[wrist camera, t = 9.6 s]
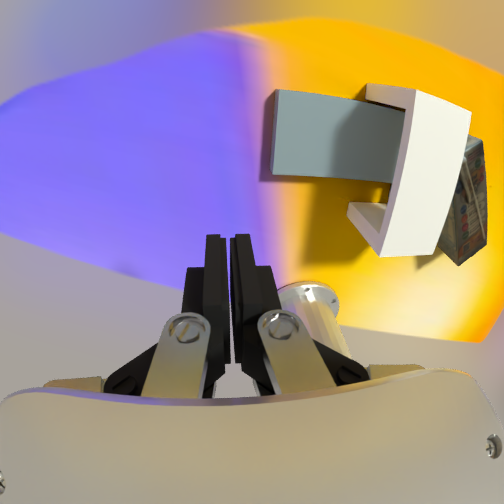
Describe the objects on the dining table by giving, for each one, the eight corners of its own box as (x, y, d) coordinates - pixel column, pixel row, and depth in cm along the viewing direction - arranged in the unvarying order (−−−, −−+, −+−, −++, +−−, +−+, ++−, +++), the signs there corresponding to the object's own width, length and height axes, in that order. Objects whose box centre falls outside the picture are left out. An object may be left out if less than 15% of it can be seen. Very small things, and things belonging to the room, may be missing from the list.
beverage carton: (455, 126, 28) (488, 139, 23) (467, 226, 39) (489, 247, 33) (418, 145, 30) (450, 161, 24) (436, 247, 40) (457, 271, 35)
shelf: (395, 217, 35) (432, 254, 28) (346, 215, 35) (379, 257, 27) (419, 98, 26) (471, 112, 18) (366, 83, 25) (416, 89, 17)
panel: (389, 177, 33) (398, 184, 31) (268, 167, 31) (272, 174, 29) (401, 111, 28) (412, 114, 26) (274, 89, 26) (279, 89, 24)
